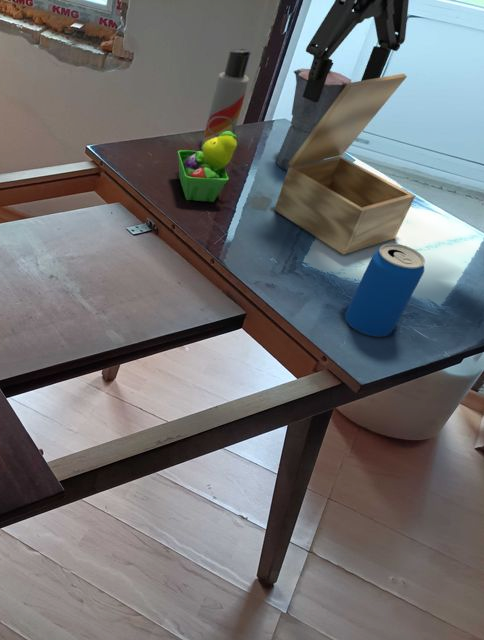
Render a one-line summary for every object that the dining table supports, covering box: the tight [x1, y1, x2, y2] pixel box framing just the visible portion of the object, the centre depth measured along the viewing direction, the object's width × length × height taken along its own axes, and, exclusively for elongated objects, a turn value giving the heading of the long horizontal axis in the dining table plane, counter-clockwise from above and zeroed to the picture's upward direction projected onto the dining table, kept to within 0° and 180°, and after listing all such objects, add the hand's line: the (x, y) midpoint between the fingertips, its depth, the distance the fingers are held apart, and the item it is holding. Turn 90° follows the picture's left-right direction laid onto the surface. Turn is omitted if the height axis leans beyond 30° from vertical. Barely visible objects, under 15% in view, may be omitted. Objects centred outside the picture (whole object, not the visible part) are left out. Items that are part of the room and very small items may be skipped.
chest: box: [274, 155, 416, 255], centre depth 116 cm, size 16×13×9 cm
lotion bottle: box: [200, 48, 252, 152], centre depth 133 cm, size 6×6×20 cm
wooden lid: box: [288, 73, 408, 167], centre depth 111 cm, size 16×13×1 cm
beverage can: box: [344, 243, 426, 337], centre depth 94 cm, size 6×6×12 cm
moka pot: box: [275, 61, 352, 171], centre depth 130 cm, size 10×15×20 cm, turn 40°
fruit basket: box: [177, 131, 238, 203], centre depth 123 cm, size 11×9×11 cm
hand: (339, 94), depth 113 cm, fingers open, 13 cm apart
